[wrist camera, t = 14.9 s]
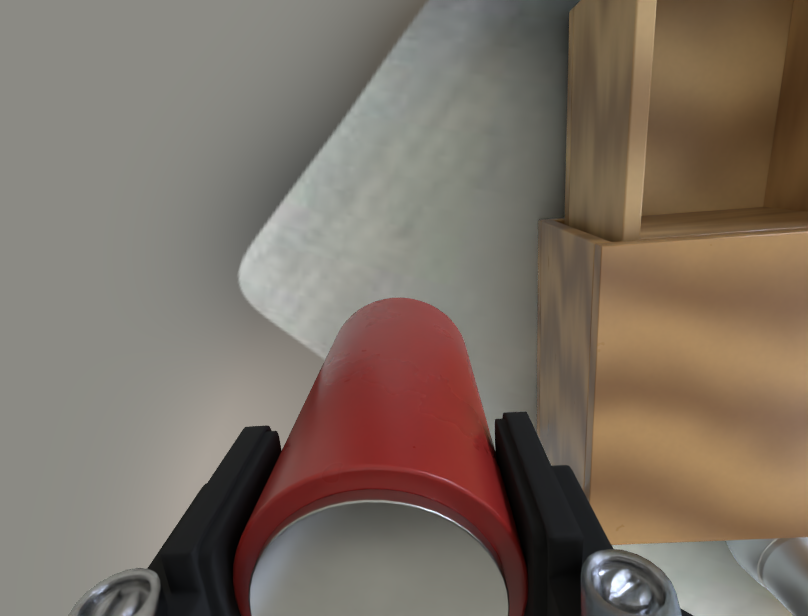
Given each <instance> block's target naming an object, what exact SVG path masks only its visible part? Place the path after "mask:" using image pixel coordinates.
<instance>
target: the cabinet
mask: <svg viewBox="0 0 808 616" xmlns="http://www.w3.org/2000/svg"><path fill="white" fill-rule="evenodd" d="M564 222H565V218H553V219H539V220H538V303H537V435H538V437H539V439H540V441H541V443H542V445H543V448H544V450H545V452H546V454H547V456H548V459H549V461H550V463H551V465H552V466H553V465H568V466H570V467H571V469H572V470H573V472H574V474H575V476H576V478H577V480H578V482H579V484H580V486H581V488H582V490H583V492H584V493H585V495H586V497H587V499H588V501H589V503H590V505H591V507H592V509H593V511H594V513H595V515H596V517H597V519H598V520H599V522H600V524H601V526H602V528H603V530H604V532H605V534H606V536H607V538H608V540H609V542H610V544H611V545H622V544H648V543H674V542H700V541H726V540H752V539H778V538H804V537H808V228H804V229H790V230H776V231H762V232H748V233H734V234H720V235H706V236H692V237H678V238H664V239H650V240H637V241H623V242H610V241H607V240H604V239H602V238H599V237H597V236H594V235H591V234H589V233H586V232H583V231H581V230H578V229H575V228H573V227H570V226H567V225H565V224H564Z"/></svg>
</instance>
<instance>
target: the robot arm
mask: <svg viewBox="0 0 808 616" xmlns="http://www.w3.org/2000/svg"><path fill="white" fill-rule="evenodd" d="M281 452H282V451H281V445H280V440H279V436H278V433H277V431H271V429H270V427H269V426H253V427H245V428H244V429H243V430H242V432H241V433H240V435H239V436H238V438H237V440H236V441H235V443H234V444H233V446H232V447H231V449H230V450H229V452H228V453H227V454H226V456H225V457H224V459H223V460H222V462H221V463H220V465H219V467H218V468H217V470H216V471H215V472H214V474H213V476H212V477H211V478H210V480H209V481H208V483H207V484H205V485H204V486H203V487H202V489H201V490H200V491H199V493H198V494H197V496H196V497H195V499H194V500H193V502H192V503H191V505H190V506H189V508H188V509H187V511H186V512H185V514H184V515H183V517H182V518H181V520H180V521H179V523H178V524H177V525H176V527H175V528H174V530H173V531H172V533H171V534H170V536H169V538H168V539H167V540H166V542H165V543H164V545H163V546H162V548H161V549H160V551H159V552H158V554H157V555H156V557H155V558H154V560H153V561H152V563H151V564H150V566H149V567H148V568H147V569H143V568H136V569H130V570H125V571H123V572H120V573H117V574H114V575H112V576H110V577H109V578H107V579H105V580H103V581H101V582H99V583H98V584H97V585H96V586H94V587H93V588H91V589H90V590H89V591H88V592H86V593H85V594H84V595H83V597H82V598H81V599H80V600H79V601H78V602H77V603H76V604H75V606H74V607H73V609H72V610H71V612H70V614H69V615H68V616H241V614H240V611H239V608H238V605H237V602H236V599H235V593H234V586H233V563H234V558H235V553H236V549H237V546H238V543H239V541H240V538H241V535H242V533H243V531H244V529H245V527H246V525H247V523H248V521H249V518H250V516H251V514H252V512H253V510H254V508H255V506H256V504H257V502H258V500H259V498H260V495H261V493H262V491H263V489H264V487H265V485H266V483H267V481H268V479H269V477H270V475H271V472H272V470H273V468H274V466H275V464H276V462H277V460H278V458H279V456H280V454H281ZM495 453H496V456H497V460H498V464H499V467H500V471H501V474H502V478H503V481H504V485H505V489H506V492H507V496H508V499H509V503H510V506H511V510H512V514H513V517H514V521H515V524H516V528H517V532H518V535H519V539H520V542H521V546H522V549H523V553H524V557H525V561H526V565H527V573H528V598H527V604H526V608H525V612H524V616H693V615H691V614H689V613H688V612H686V611H684V610H682V609H681V608H680V606H679V602H678V598H677V594H676V591H675V589H674V587H673V585H672V582H671V581H670V580H669V578H668V577H667V576H666V575H665V573H664V572H663V571H662V570H661V569H660V568H658V567H657V566H656V565H654V564H653V563H652V562H651V561H649V560H647V559H645V558H643V557H641V556H639V555H637V554H634V553H631V552H628V551H624V550H615V549H613V547H612V546H611V544H610V542H609V540H608V538H607V536H606V534H605V532H604V530H603V528H602V526H601V524H600V522H599V520H598V519H597V517H596V515H595V513H594V511H593V509H592V507H591V505H590V503H589V501H588V499H587V497H586V495H585V493H584V492H583V490H582V488H581V486H580V484H579V482H578V480H577V478H576V476H575V474H574V472H573V470H572V469H571V467H570V466H568V465H553V466H551V464H550V462H549V460H548V457H547V455H546V453H545V451H544V449H543V446H542V444H541V442H540V440H539V438H538V435H537V433H536V431H535V429H534V427H533V424H532V422H531V420H530V418H529V416H528V414H527V412H509V413H503V419H495Z"/></svg>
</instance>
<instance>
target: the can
mask: <svg viewBox="0 0 808 616" xmlns="http://www.w3.org/2000/svg"><path fill="white" fill-rule="evenodd" d="M233 586H234V593H235V599H236V602H237V605H238V608H239V611H240V614H241V616H524V612H525V608H526V604H527V598H528V573H527V565H526V561H525V557H524V553H523V549H522V546H521V542H520V539H519V535H518V532H517V528H516V524H515V521H514V517H513V514H512V510H511V506H510V503H509V499H508V496H507V492H506V489H505V485H504V481H503V478H502V474H501V471H500V467H499V464H498V460H497V456H496V453H495V449H494V446H493V442H492V438H491V435H490V431H489V428H488V424H487V421H486V417H485V413H484V410H483V406H482V403H481V399H480V396H479V392H478V388H477V385H476V381H475V378H474V374H473V370H472V367H471V363H470V360H469V356H468V353H467V349H466V345H465V342H464V340H463V337H462V335H461V333H460V331H459V330H458V328H457V327H456V325H455V324H454V323H453V322H452V320H451V319H450V318H449V317H448V316H447V315H445V314H444V313H443V312H441V311H440V310H439V309H437V308H435V307H434V306H432V305H430V304H427V303H425V302H422V301H419V300H415V299H410V298H388V299H383V300H379V301H375V302H373V303H370V304H368V305H366V306H364V307H363V308H361V309H359V310H358V311H357V312H355V313H354V314H353V315H352V316H351V317H350V318H349V319H348V320H347V321H346V322H345V323H344V325H343V326H342V327H341V329H340V331H339V333H338V334H337V336H336V339H335V341H334V343H333V345H332V347H331V349H330V351H329V353H328V355H327V357H326V359H325V362H324V364H323V366H322V368H321V370H320V372H319V374H318V376H317V378H316V380H315V382H314V385H313V387H312V389H311V391H310V393H309V395H308V397H307V399H306V401H305V403H304V405H303V408H302V410H301V412H300V414H299V416H298V418H297V420H296V422H295V424H294V426H293V428H292V431H291V433H290V435H289V437H288V439H287V441H286V443H285V445H284V447H283V449H282V452H281V454H280V456H279V458H278V460H277V462H276V464H275V466H274V468H273V470H272V472H271V475H270V477H269V479H268V481H267V483H266V485H265V487H264V489H263V491H262V493H261V495H260V498H259V500H258V502H257V504H256V506H255V508H254V510H253V512H252V514H251V516H250V518H249V521H248V523H247V525H246V527H245V529H244V531H243V533H242V535H241V538H240V541H239V543H238V546H237V549H236V553H235V558H234V563H233Z"/></svg>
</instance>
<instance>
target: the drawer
mask: <svg viewBox="0 0 808 616" xmlns="http://www.w3.org/2000/svg"><path fill="white" fill-rule="evenodd" d="M564 224H565V225H567V226H570V227H573V228H575V229H578V230H581V231H583V232H586V233H589V234H591V235H594V236H597V237H599V238H602V239H604V240H607V241H610V242H623V241H637V240H650V239H664V238H678V237H692V236H706V235H720V234H734V233H748V232H762V231H776V230H790V229H804V228H808V0H581V1H580V2H579V3H578V4H577V5H576V6H575V7H573V8H572V10H571V11H570V12H569V53H568V95H567V137H566V179H565V222H564Z"/></svg>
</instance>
